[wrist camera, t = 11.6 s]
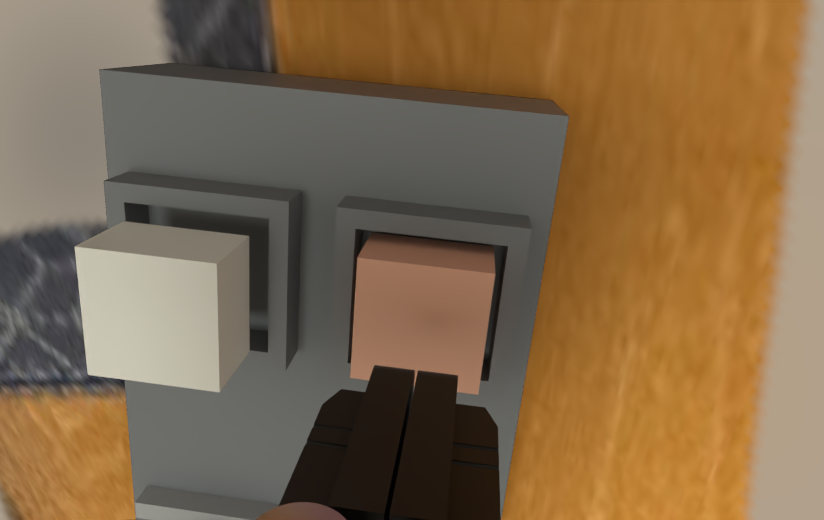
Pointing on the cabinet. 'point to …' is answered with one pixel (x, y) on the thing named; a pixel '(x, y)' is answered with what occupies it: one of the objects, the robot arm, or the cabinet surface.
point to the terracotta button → (422, 307)
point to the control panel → (316, 248)
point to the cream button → (165, 304)
